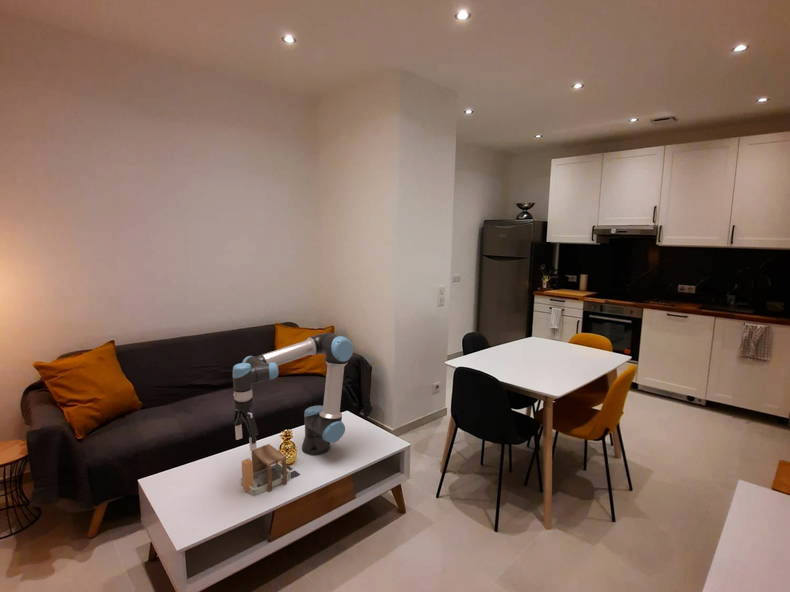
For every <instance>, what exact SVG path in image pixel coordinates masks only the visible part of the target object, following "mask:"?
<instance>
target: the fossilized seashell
mask: <svg viewBox="0 0 790 592" xmlns="http://www.w3.org/2000/svg"><path fill="white" fill-rule="evenodd" d="M271 469H272V481H274V480H277V479H279V478H281V477H282V474H281V473H280V472H279V471H278V470H277V469H274V468H271ZM257 478H258V479H257V481H256V484H257V485H256V487H257V488H259V487H261V486H263V485H265V484H268V476H267V470H264V471H263V472H262V473H260V475H259V477H257Z"/></svg>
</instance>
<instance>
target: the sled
mask: <svg viewBox="0 0 790 592" xmlns="http://www.w3.org/2000/svg"><path fill="white" fill-rule="evenodd" d="M271 468H274V469H277V470H278V471H279V472H280V473H281V478H279V479H277V480H274V481H272V488H274V487H276V486H278V485H281V484H283V471H282V462H281V463H280V462H278V463H275V464H273V465H271ZM264 470H267V468H266V469H263V470H261V471H258V472H256V473H254V474H253V462H252V459H250V458H246V459H243V460H241V476H242V477H241V478H240V484H241V485H242V490H243V491H244V492H245V493H251V495H253V497H254V496H256V495H259V494H260V493H263V492H266V491H268V484H265V485H263V486H260V487H257V488H255V487H254V486H255V484H254V480H255V479H257V478H258V477H259V475H260V473H262V472H263V471H264ZM290 472H291V470H288V469H287V481H289V480H292V479H291V474H290Z"/></svg>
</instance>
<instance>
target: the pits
mask: <svg viewBox="0 0 790 592" xmlns="http://www.w3.org/2000/svg"><path fill="white" fill-rule="evenodd" d="M287 469H288V470H290V474H291V479H290V480H293V479H294V477H295V478H296V477H300V476H301V473H299V472H298V471H296V470H293V469H294V468H293V467H291V466H290V465H289V466H287Z"/></svg>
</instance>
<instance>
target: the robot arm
mask: <svg viewBox="0 0 790 592" xmlns="http://www.w3.org/2000/svg"><path fill="white" fill-rule="evenodd" d="M321 354H322V355H325V356H324V362H325V363H326V365H327V366H326V375H325V386H324V396H323V405H313V406H309V407H308V408H306V409H305V410H304V414H303V417H304V437H303V442H302V444H301V449H302V451H301V452H303V453H304V454H306V455H309V456H317V455H323V454H325V453H327V452H328V451H329V450H330V449H331V444H333V443H336V442H338V441H340V440H341V439H342V437H343V436H344V434H345V431H346V425H345V424H344V422H342V420H343V413H342V412H341V411H340V410H341V401H342V391H343V390H342V389H343V383H344V371H345V367H346V365H348V361H349V360H350V359H351V357H352V356H353V354H354V346H353V343H352V341H350V339H349V338H347V337H345V336H342V335H339V334H336V333H333V332H324V333H323V332H322V333H317V334H316V335H313V336H308V338H307V339H306V340H303V341H300V342H298V343H294V344H291V345H288V346H285V347H281V348H278V349H275V350H273V351H269V352H266V353H262V354H260V355H257V356H253V355H249V356H246V357H245V358H244V359H243V360H242V362H241V363H237V364H235V365H233V367H232V382H233V394H232V395H233V400H234V401H233V402H234V412H233V415H232V424H233V425H234V431H235V440H236V441H237V440H241V439H243V428H242V426H243V425H242V421H243V423H244V424H245V426H246V428H247V431H248V433H249V436H248V441H249V451H250V452H251V451H252V450H255V449H257V448H258V447H257V436H259V430H258V426H257V423H256V419H255V413H254V412H251V409H252V408H253V407H254V401H253V400H254V399H253V397H254V396H253V385H254V384H259V383H263V382H267V381H271V380H274V379H275V380H276V379H277V378H278V376H279V367H278V366H280V365H283V364H286V363H290V362H293V361H295V360H298V359H301V358H304V357H306V356H309V355H311V356H316V355H321Z"/></svg>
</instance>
